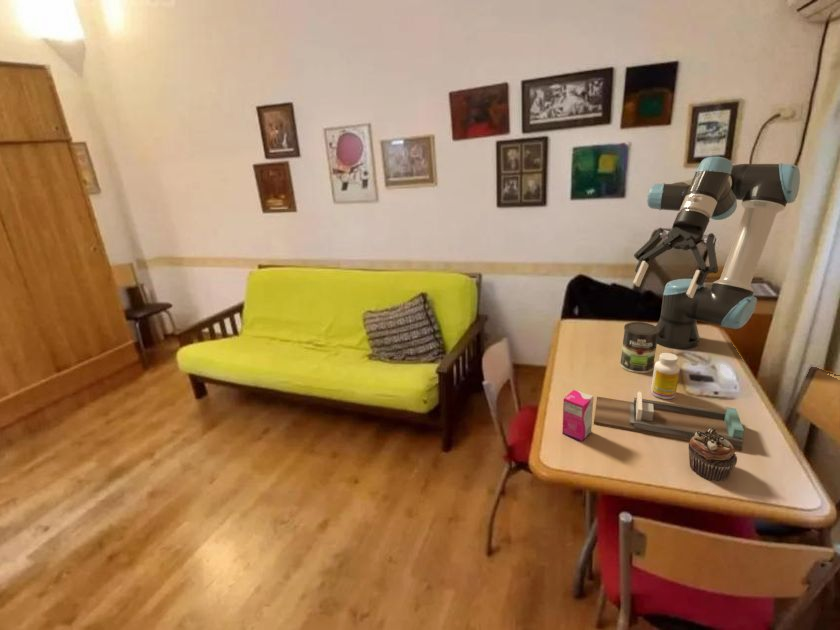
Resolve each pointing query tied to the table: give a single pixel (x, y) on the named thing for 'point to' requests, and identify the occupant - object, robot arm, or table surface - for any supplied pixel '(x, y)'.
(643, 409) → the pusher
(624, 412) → the dispenser stand
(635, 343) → the coffee can
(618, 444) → the table surface
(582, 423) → the supplement box
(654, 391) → the supplement bottle
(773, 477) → the table surface
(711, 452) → the cupcake
